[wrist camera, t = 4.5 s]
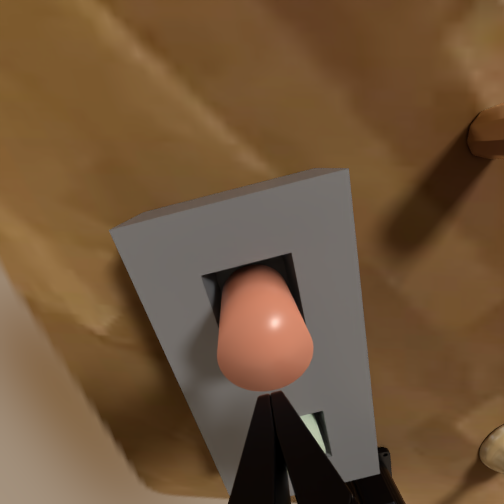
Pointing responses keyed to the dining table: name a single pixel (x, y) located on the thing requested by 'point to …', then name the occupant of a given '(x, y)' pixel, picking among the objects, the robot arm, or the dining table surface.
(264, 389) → the terracotta plug
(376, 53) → the dining table surface
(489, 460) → the hand bell
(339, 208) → the console
